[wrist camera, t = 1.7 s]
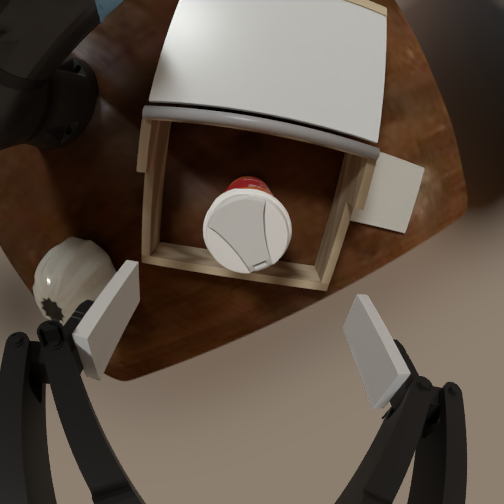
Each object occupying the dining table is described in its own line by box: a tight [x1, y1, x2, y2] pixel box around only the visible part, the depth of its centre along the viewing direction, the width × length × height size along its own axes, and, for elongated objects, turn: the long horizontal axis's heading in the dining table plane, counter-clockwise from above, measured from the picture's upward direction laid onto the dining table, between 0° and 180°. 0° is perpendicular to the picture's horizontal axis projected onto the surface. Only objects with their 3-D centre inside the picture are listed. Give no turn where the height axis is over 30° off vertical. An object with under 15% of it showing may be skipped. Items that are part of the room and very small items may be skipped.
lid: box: [142, 0, 387, 160], centre depth 24 cm, size 26×22×5 cm
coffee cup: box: [203, 176, 292, 273], centre depth 31 cm, size 8×8×15 cm
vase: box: [33, 236, 117, 326], centre depth 37 cm, size 14×14×13 cm
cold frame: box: [136, 116, 377, 291], centre depth 35 cm, size 26×20×8 cm
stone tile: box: [350, 152, 425, 233], centre depth 37 cm, size 11×11×1 cm
